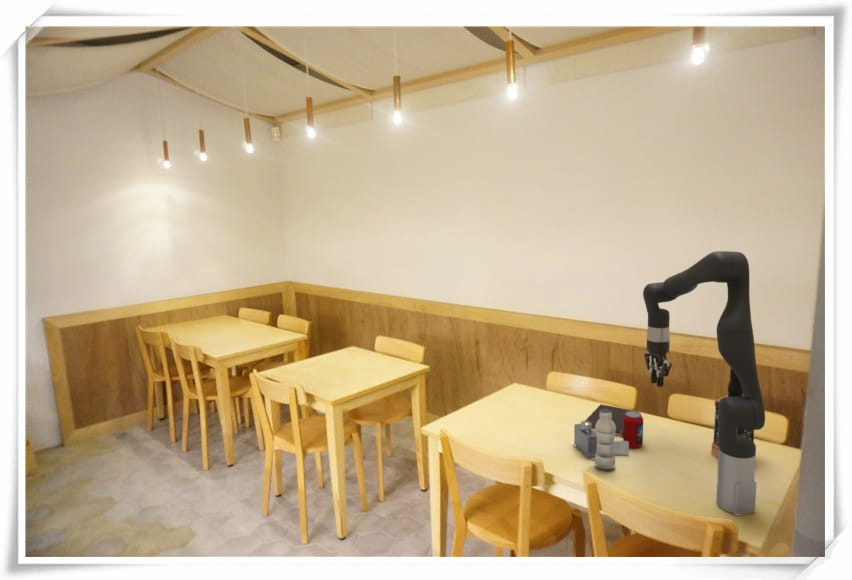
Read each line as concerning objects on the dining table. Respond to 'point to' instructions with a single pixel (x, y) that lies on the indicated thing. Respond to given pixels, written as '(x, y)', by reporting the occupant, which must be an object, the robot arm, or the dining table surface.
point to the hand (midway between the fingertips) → (656, 384)
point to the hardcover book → (616, 418)
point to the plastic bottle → (605, 441)
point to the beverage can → (633, 429)
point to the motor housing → (594, 441)
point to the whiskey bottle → (733, 391)
